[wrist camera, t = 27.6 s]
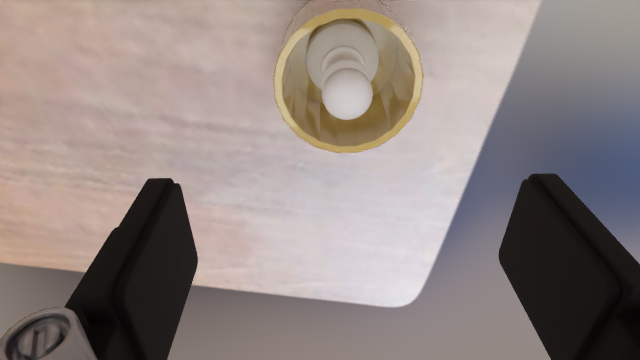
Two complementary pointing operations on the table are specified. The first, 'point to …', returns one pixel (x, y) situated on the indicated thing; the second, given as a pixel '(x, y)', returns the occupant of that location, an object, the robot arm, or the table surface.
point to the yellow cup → (388, 84)
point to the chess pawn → (343, 66)
